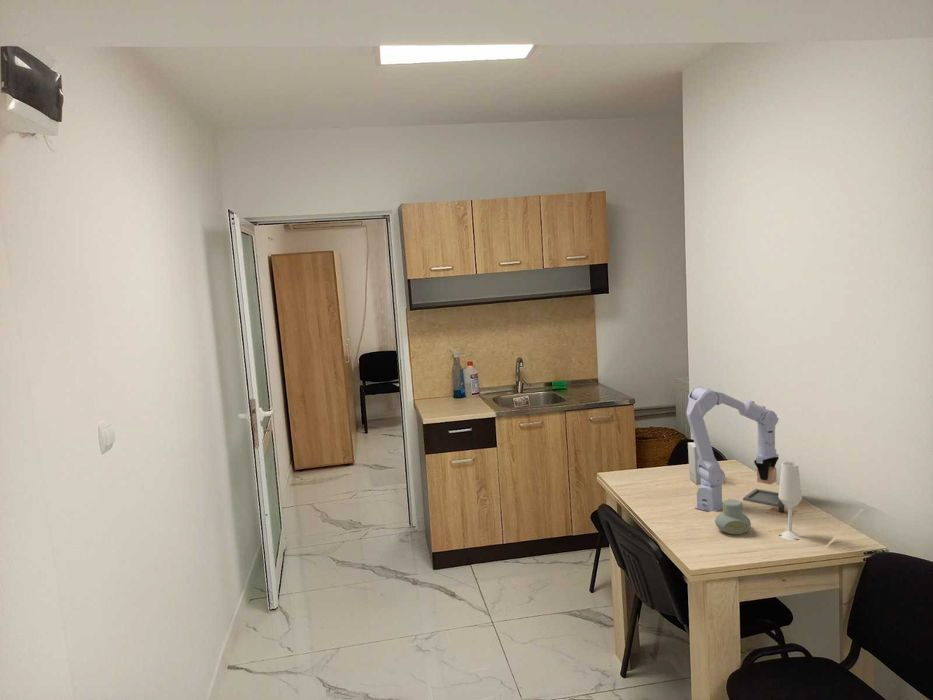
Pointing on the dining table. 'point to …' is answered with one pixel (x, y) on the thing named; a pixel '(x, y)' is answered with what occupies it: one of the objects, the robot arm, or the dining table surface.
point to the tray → (763, 497)
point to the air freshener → (732, 518)
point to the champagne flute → (790, 494)
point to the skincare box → (693, 463)
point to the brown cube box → (771, 476)
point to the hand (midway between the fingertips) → (766, 477)
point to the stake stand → (780, 510)
